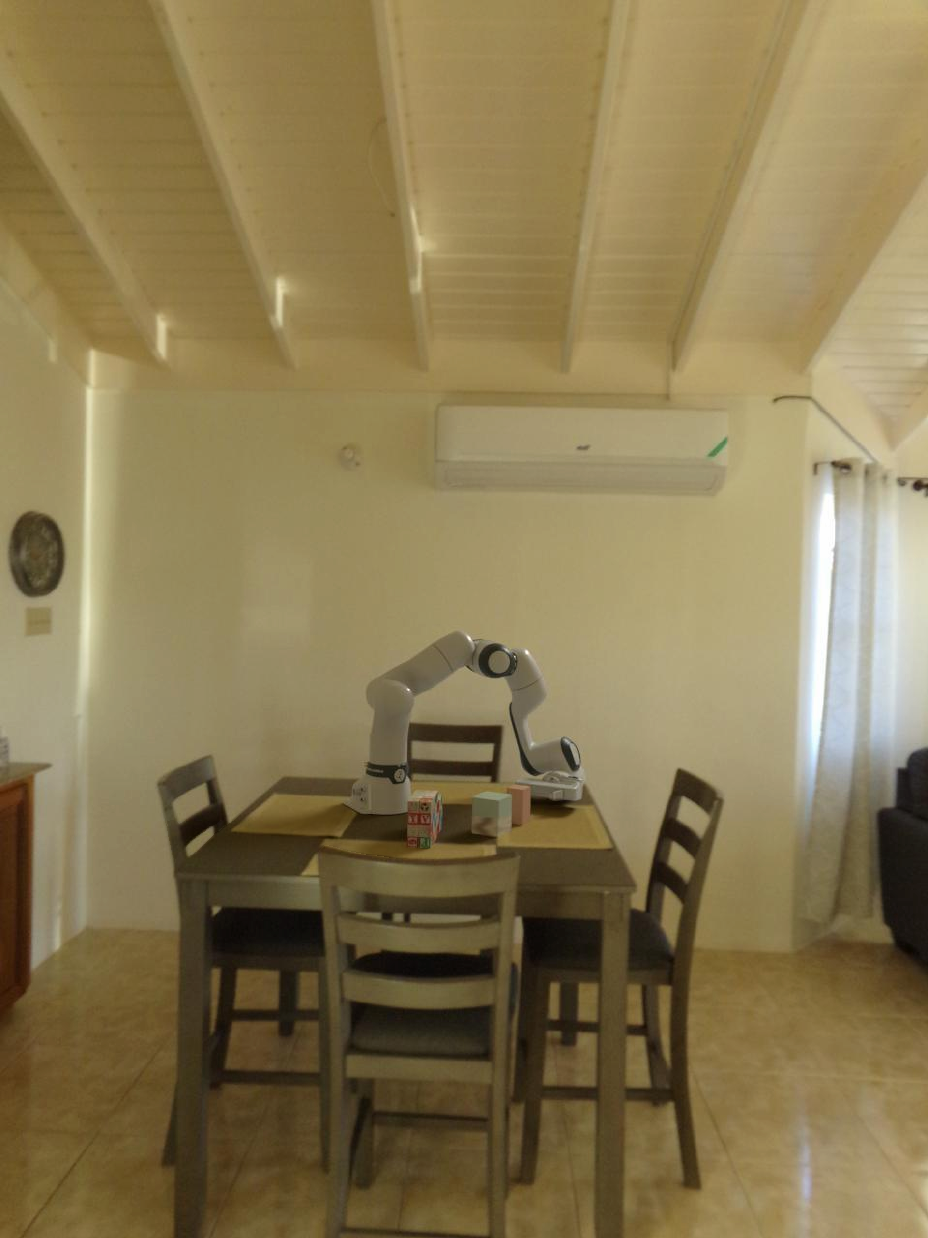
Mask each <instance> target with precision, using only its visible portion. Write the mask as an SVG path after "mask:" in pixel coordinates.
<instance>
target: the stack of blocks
mask: <svg viewBox="0 0 928 1238" xmlns="http://www.w3.org/2000/svg"><path fill="white" fill-rule="evenodd" d="M438 792H439V791H438V790H426V789H425V790H423V789H422V790H421V789H415V790H414V791H413V793H412V794H411V797H410V798H409V800H408V802H407V812H406V813H407V815H406V819H407V820H406V825H407V827H406V828H407V829H406V830H407V832H406V848H409V847H426V848H425V849H431V848H432V846H433V845H434V843H435V842H436V840H437V837H438V835H439V833H440V832H441V830H442V828H443V794H442V793H441V794H440V793H438Z"/></svg>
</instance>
